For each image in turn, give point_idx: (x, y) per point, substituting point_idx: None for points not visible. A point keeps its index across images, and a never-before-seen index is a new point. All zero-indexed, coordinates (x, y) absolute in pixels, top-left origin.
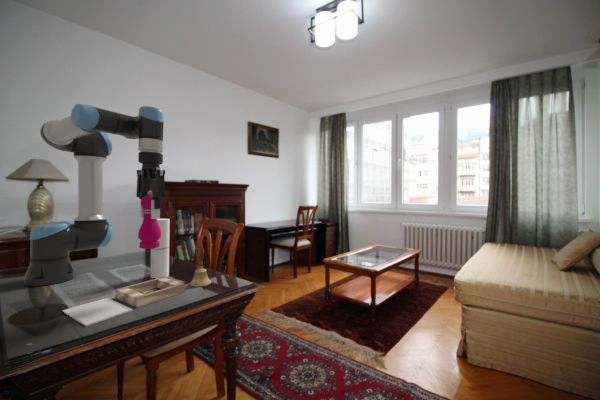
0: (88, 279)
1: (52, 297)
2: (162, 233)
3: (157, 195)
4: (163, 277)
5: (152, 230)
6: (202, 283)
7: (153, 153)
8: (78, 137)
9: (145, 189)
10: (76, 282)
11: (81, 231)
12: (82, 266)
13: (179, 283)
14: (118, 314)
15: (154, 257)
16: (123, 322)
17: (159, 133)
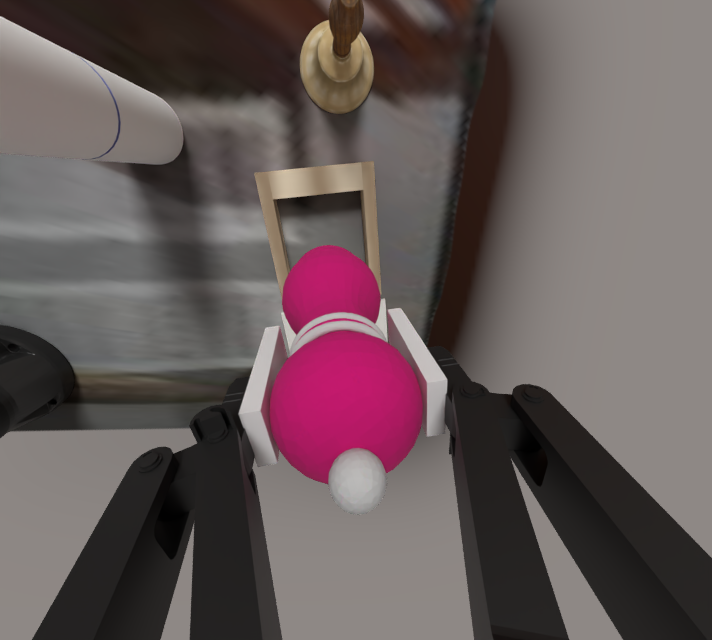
0: (61, 305)
1: (190, 378)
2: (52, 100)
3: (532, 453)
4: (262, 174)
5: (378, 315)
6: (366, 83)
7: None
8: None
9: (260, 549)
10: (81, 331)
11: None
12: None
13: (359, 171)
14: (385, 321)
15: (129, 156)
16: (419, 323)
17: None
